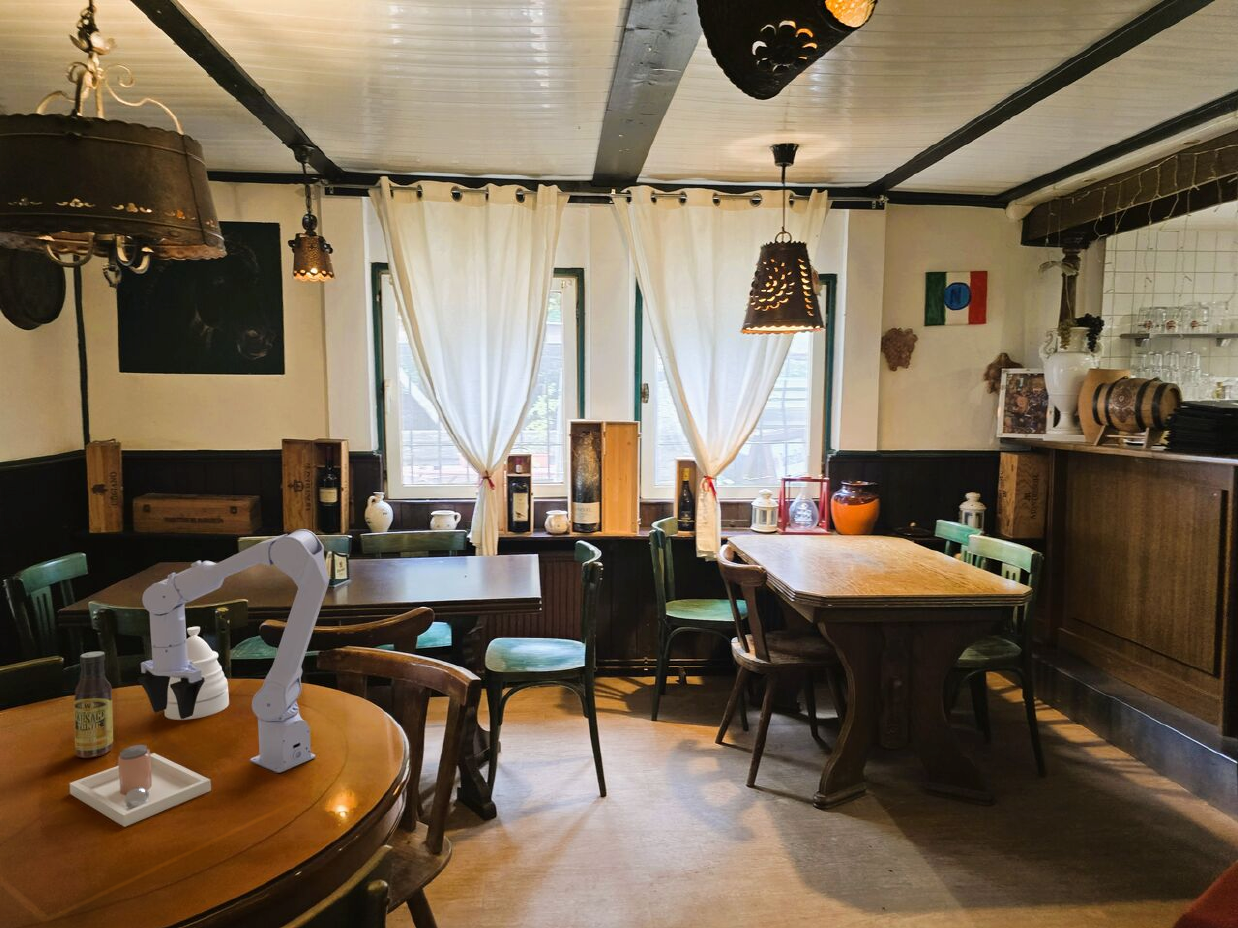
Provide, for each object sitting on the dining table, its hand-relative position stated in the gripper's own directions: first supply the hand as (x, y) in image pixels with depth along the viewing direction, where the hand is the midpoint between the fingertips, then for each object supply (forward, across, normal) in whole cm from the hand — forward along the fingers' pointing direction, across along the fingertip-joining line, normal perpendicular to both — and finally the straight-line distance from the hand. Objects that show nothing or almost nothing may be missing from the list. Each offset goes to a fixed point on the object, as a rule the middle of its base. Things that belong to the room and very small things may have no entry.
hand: (173, 713), depth 147 cm
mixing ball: (+9, -10, +14) cm, 20 cm away
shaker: (+9, -3, +10) cm, 14 cm away
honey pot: (+10, +22, -21) cm, 32 cm away
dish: (+10, -6, +10) cm, 15 cm away
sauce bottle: (+10, +20, +3) cm, 22 cm away
